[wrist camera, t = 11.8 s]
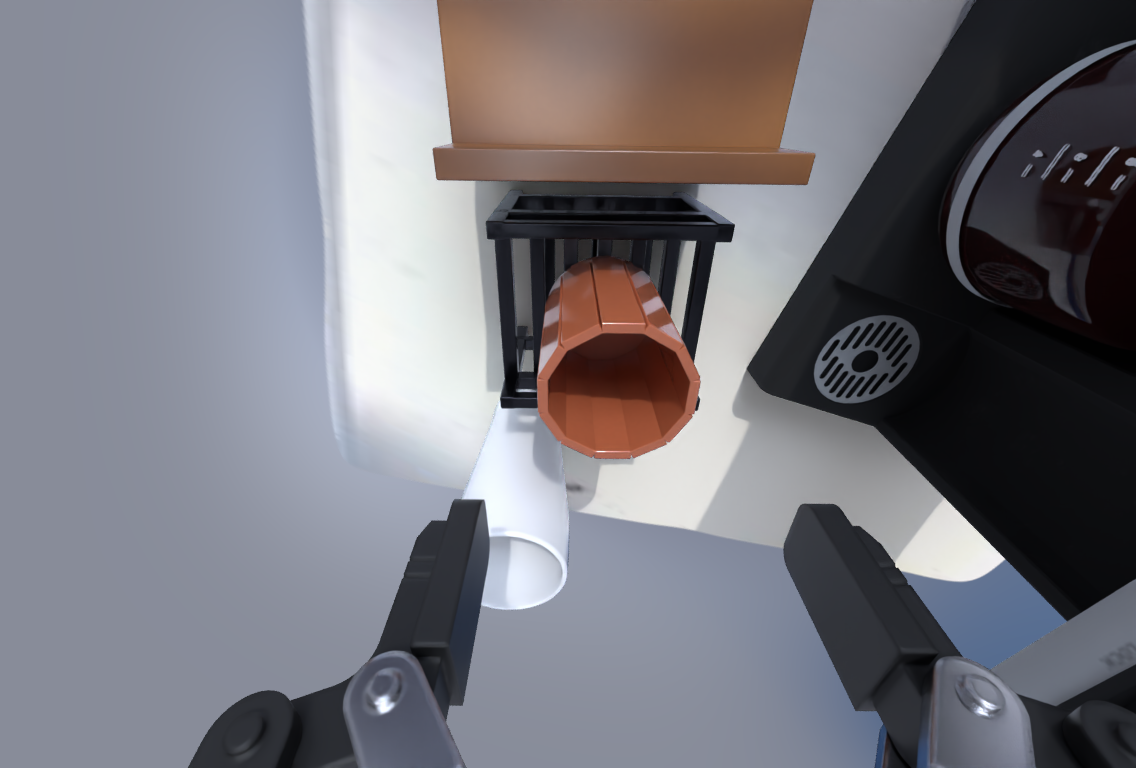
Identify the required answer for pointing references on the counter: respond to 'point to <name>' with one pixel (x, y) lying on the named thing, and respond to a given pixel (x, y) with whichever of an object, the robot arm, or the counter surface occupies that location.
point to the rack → (602, 224)
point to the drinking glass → (522, 509)
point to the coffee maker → (1002, 317)
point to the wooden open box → (621, 90)
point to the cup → (612, 363)
